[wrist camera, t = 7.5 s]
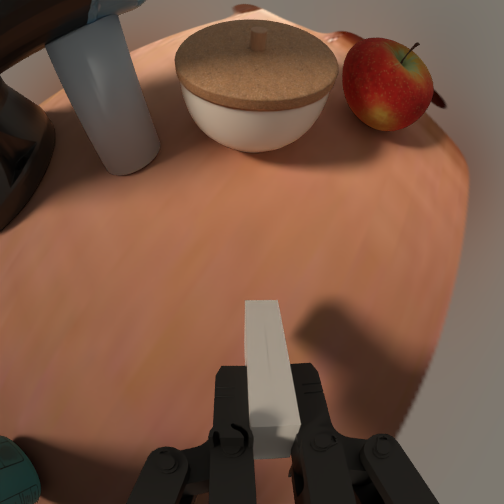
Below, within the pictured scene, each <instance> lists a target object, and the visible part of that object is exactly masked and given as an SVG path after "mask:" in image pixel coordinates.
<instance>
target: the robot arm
mask: <svg viewBox="0 0 504 504" xmlns="http://www.w3.org/2000/svg"><path fill="white" fill-rule="evenodd" d="M145 1H146V0H0V74H1V73H2V72H4V71H5V70H7V69H9V68H10V67H12V66H13V65H15V64H17V63H18V62H20V61H22V60H23V59H25V58H27V57H29V56H30V55H32V54H34V53H36V52H38V51H40V50H42V49H43V48H45V45H46V44H48V43H49V42H51V41H53V40H55V39H57V38H59V37H61V36H63V35H65V34H67V33H69V32H71V31H73V30H75V29H78V28H80V27H82V26H84V25H88V24H91V23H93V22H95V21H96V20H98V19H101V18H103V17H106V16H108V15H111V14H114V15H121V14H123V13H126V12H129V11H132V10H134V9H136V8H138V7H139V6H141V5H142V4H143V3H144V2H145ZM54 143H55V131H54V127H53V124H52V123H51V121H50V120H49V118H48V117H47V115H46V113H45V112H44V111H43V109H42V108H41V107H39V106H38V105H37V104H35V103H34V102H32V101H30V100H29V99H27V98H26V97H24V96H23V95H21V94H20V93H18V92H17V91H15V90H14V89H12V88H11V87H9V86H8V85H6V84H5V82H4V81H3V79H2V78H1V76H0V230H1V229H2V228H4V227H5V226H6V225H7V224H8V223H9V222H10V221H11V220H12V219H13V218H14V217H15V216H16V215H17V214H18V213H19V211H20V210H21V209H22V208H23V206H24V205H25V204H26V203H27V201H28V200H29V198H30V197H31V195H32V194H33V192H34V191H35V189H36V188H37V186H38V184H39V183H40V181H41V179H42V177H43V175H44V173H45V171H46V169H47V166H48V164H49V161H50V159H51V156H52V152H53V148H54ZM244 346H245V366H221V368H220V369H219V371H218V373H217V374H216V379H215V398H214V418H213V428H212V429H211V430H210V433H209V436H208V440H207V441H206V442H205V443H204V444H202V445H200V446H198V447H195V448H190V449H185V450H181V451H180V450H178V449H176V448H173V447H161V448H158V449H156V450H154V451H152V453H151V454H150V455H149V456H148V458H147V460H146V462H145V464H144V467H143V469H142V471H141V473H140V475H139V477H138V479H137V481H136V484H135V486H134V488H133V490H132V492H131V494H130V496H129V499H128V501H127V503H126V504H194V502H195V499H196V496H197V495H198V494H202V493H207V492H209V504H256V488H255V472H254V459H273V458H287V457H290V455H291V456H292V466H291V468H290V470H289V475H288V477H291V476H292V484H293V492H294V500H295V504H439V503H438V501H437V499H436V498H435V497H434V495H433V494H432V492H431V491H430V489H429V488H428V486H427V484H426V483H425V481H424V480H423V479H422V477H421V476H420V474H419V473H418V471H417V470H416V468H415V467H414V465H413V464H412V462H411V461H410V459H409V458H408V456H407V455H406V453H405V452H404V450H403V449H402V447H401V446H400V444H399V443H398V442H397V440H396V439H394V438H393V437H392V436H390V435H388V434H376V435H373V436H372V437H370V438H369V439H368V440H366V439H356V438H349V437H345V436H343V435H341V434H340V433H338V432H337V431H336V430H335V429H334V427H333V426H332V423H331V420H330V416H329V412H328V408H327V404H326V400H325V396H324V393H323V389H322V385H321V381H320V378H319V374H318V371H317V370H316V369H315V368H314V366H313V365H312V364H311V363H299V364H290V362H289V357H288V351H287V346H286V341H285V335H284V330H283V325H282V320H281V315H280V309H279V304H278V300H245V335H244Z"/></svg>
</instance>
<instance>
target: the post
mask: <svg viewBox="0 0 504 504" xmlns="http://www.w3.org/2000/svg"><path fill="white" fill-rule="evenodd" d="M45 48H46V50H47V52H48V55H49V57H50V59H51V62H52V64H53V66H54V68H55V71H56V73H57V75H58V77H59V79H60V82H61V84H62V86H63V88H64V90H65V92H66V94H67V96H68V98H69V100H70V102H71V104H72V106H73V108H74V110H75V112H76V114H77V116H78V118H79V120H80V122H81V124H82V126H83V128H84V130H85V132H86V133H87V135H88V137H89V139H90V141H91V143H92V145H93V146H94V148H95V150H96V152H97V154H98V155H99V157H100V159H101V161H102V162H103V164H104V166H105V168H106V169H107V171H108V172H109V173H111V174H113V175H126V174H130V173H133V172H135V171H138V170H140V169H141V168H143V167H145V166H146V165H147V164H149V163H150V162H151V161H152V160H153V159H154V158H155V157H156V155H157V154H158V152H159V149H160V141H159V138H158V135H157V132H156V130H155V127H154V124H153V121H152V118H151V116H150V113H149V110H148V107H147V104H146V101H145V99H144V96H143V93H142V90H141V87H140V84H139V81H138V78H137V75H136V72H135V69H134V66H133V63H132V60H131V57H130V53H129V50H128V47H127V44H126V41H125V37H124V34H123V31H122V28H121V24H120V21H119V18H118V15H114V14H111V15H108V16H106V17H103V18H101V19H98V20H96V21H95V22H93V23H91V24H88V25H84V26H82V27H80V28H78V29H75V30H73V31H71V32H69V33H67V34H65V35H63V36H61V37H59V38H57V39H55V40H53V41H51V42H49V43H48V44H46V45H45Z"/></svg>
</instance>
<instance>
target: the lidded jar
mask: <svg viewBox="0 0 504 504" xmlns="http://www.w3.org/2000/svg"><path fill="white" fill-rule="evenodd" d="M175 67H176V73H177V76H178V78H179V80H180V86H181V90H182V95H183V98H184V101H185V104H186V106H187V108H188V111H189V113H190V115H191V116H192V118H193V120H194V121H195V123H196V124H197V125H198V127H199V128H200V129H201V130H202V131H203V132H204V133H205V134H206V135H207V136H209V137H210V138H212V139H213V140H215V141H216V142H218V143H219V144H222V145H224V146H226V147H229V148H232V149H235V150H239V151H243V152H250V153H257V152H265V151H271V150H275V149H279V148H282V147H284V146H286V145H288V144H290V143H292V142H294V141H296V140H297V139H299V138H300V137H301V136H302V135H304V134H305V133H306V132H307V131H308V130H309V129H310V128H311V126H312V125H313V124H314V122H315V121H316V120H317V118H318V117H319V115H320V113H321V112H322V110H323V108H324V106H325V103H326V101H327V98H328V96H329V93H330V90H331V89H332V88H333V86H334V83H335V80H336V78H337V75H338V63H337V60H336V58H335V56H334V54H333V52H332V51H331V50H330V49H329V47H328V46H327V45H326V44H325V43H323V42H322V41H321V40H320V39H318V38H317V37H315V36H313V35H312V34H310V33H308V32H306V31H304V30H301V29H299V28H296V27H293V26H290V25H287V24H283V23H278V22H273V21H267V20H235V21H228V22H223V23H219V24H215V25H212V26H209V27H206V28H204V29H202V30H199V31H197V32H196V33H194V34H192V35H191V36H190V37H188V38H187V39H186V40H185V41H184V42H183V43H182V44H181V45H180V47H179V48H178V50H177V52H176V55H175Z"/></svg>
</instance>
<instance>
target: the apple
mask: <svg viewBox="0 0 504 504" xmlns="http://www.w3.org/2000/svg"><path fill="white" fill-rule="evenodd" d="M418 45H420V44H419V43H415V45H414V46H413V47H412V48H411V49H409V48H407V47H406V46H404V45H402V44H399V43H397V42H395V41H392V40H389V39H384V38H368V39H364V40H362V41H360V42H358V43H356V44H355V45H354V46H353V47H352V48H351V49H350V50H349V52H348V53H347V56H346V58H345V61H344V65H343V73H342V83H343V90H344V94H345V98H346V100H347V103H348V105H349V107H350V108H351V110H352V111H353V113H354V114H355V115H356V116H357V117H358V118H359V119H360V120H361V121H362V122H364V123H365V124H367V125H368V126H370V127H372V128H374V129H377V130H382V131H395V130H400V129H402V128H405V127H407V126H409V125H411V124H412V123H414V122H415V121H416V120H418V119H419V118H420V117H421V116H422V115H423V114H424V112H425V111H426V109H427V108H428V106H429V104H430V102H431V100H432V97H433V90H434V88H433V81H432V78H431V75H430V73H429V71H428V69H427V67H426V65H425V64H424V63H423V61H422V60H421V59H420V58H419V57H418V56H417V55H416V54H415V53H414V52H413V51H412V50H413V49H414V48H415V47H417V46H418Z"/></svg>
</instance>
